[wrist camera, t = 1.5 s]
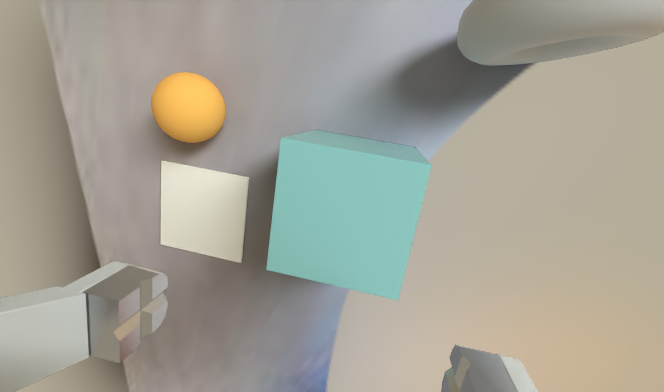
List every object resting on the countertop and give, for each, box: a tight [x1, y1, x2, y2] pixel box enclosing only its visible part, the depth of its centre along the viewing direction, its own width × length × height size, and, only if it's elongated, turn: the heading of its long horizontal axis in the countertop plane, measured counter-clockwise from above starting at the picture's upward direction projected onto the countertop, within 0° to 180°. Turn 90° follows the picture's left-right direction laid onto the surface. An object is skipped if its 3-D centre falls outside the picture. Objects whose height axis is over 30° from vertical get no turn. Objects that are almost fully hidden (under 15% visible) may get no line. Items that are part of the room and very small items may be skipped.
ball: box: [151, 72, 226, 143], centre depth 23 cm, size 5×5×5 cm
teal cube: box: [266, 130, 431, 300], centre depth 21 cm, size 8×8×9 cm
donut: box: [457, 0, 664, 66], centre depth 16 cm, size 10×4×10 cm, turn 95°
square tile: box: [161, 160, 249, 263], centre depth 28 cm, size 8×8×1 cm
